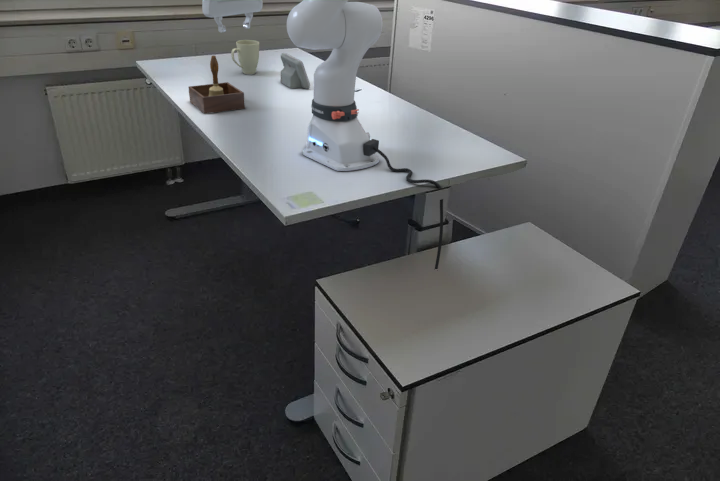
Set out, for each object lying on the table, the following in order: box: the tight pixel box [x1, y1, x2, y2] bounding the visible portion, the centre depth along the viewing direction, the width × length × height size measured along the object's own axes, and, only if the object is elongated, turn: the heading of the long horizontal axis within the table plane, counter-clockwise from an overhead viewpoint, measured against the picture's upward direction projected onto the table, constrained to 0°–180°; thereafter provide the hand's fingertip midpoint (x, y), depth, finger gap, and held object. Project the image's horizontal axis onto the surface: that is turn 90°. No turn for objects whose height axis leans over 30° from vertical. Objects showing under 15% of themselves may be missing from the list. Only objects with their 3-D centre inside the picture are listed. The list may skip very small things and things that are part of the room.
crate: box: [188, 81, 246, 115], centre depth 187 cm, size 14×14×5 cm
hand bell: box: [209, 55, 224, 96], centre depth 184 cm, size 8×8×16 cm
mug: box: [230, 39, 260, 76], centre depth 222 cm, size 11×10×12 cm
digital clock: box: [280, 52, 311, 90], centre depth 212 cm, size 16×9×11 cm, turn 20°
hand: (234, 30), depth 169 cm, fingers open, 8 cm apart
